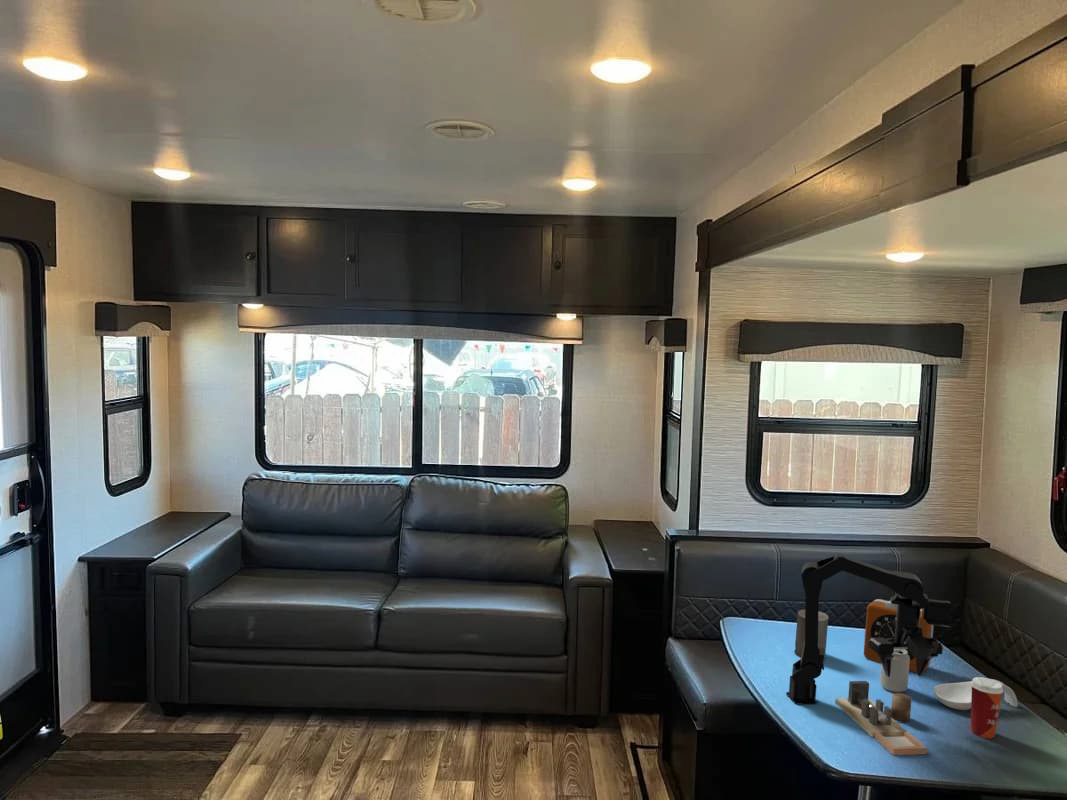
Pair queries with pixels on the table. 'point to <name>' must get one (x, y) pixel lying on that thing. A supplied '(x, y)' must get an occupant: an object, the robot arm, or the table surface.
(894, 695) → the brown dome-ended cylinder
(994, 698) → the paper cup
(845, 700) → the beige piece
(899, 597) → the robot arm
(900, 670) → the can
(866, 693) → the shaft
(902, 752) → the picture frame
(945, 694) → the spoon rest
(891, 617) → the alarm clock
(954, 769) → the table surface
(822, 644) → the pillar candle
